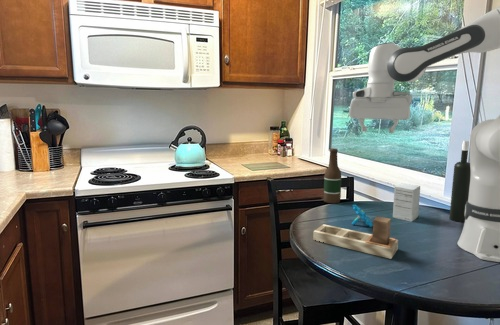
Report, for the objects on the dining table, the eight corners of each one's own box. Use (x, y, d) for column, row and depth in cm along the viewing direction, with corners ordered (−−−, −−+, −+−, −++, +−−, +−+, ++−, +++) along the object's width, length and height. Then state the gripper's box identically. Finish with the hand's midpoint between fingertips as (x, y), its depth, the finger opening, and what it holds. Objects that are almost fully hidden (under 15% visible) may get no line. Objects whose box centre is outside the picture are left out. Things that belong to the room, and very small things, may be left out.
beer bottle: (321, 199, 160) (322, 147, 155) (337, 198, 160) (339, 147, 156) (326, 204, 152) (327, 150, 148) (343, 203, 153) (345, 149, 148)
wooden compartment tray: (397, 249, 106) (398, 238, 105) (391, 258, 99) (392, 248, 99) (323, 232, 120) (323, 223, 119) (313, 240, 113) (313, 230, 113)
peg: (388, 249, 105) (390, 218, 104) (385, 254, 102) (387, 222, 100) (375, 246, 108) (377, 216, 106) (371, 251, 104) (373, 220, 103)
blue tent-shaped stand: (374, 227, 119) (354, 205, 121) (361, 237, 121) (341, 215, 123) (375, 221, 130) (356, 201, 132) (362, 231, 131) (344, 210, 133)
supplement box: (399, 213, 139) (401, 182, 137) (418, 217, 134) (421, 185, 132) (391, 217, 134) (393, 186, 132) (411, 222, 129) (414, 189, 126)
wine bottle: (463, 223, 127) (471, 142, 121) (446, 219, 131) (454, 141, 126) (469, 219, 130) (477, 141, 125) (452, 216, 135) (460, 139, 129)
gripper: (414, 92, 116) (410, 132, 119) (354, 92, 128) (352, 130, 131) (410, 91, 111) (407, 134, 114) (348, 92, 123) (346, 131, 125)
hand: (377, 132), depth 122 cm, fingers open, 8 cm apart
